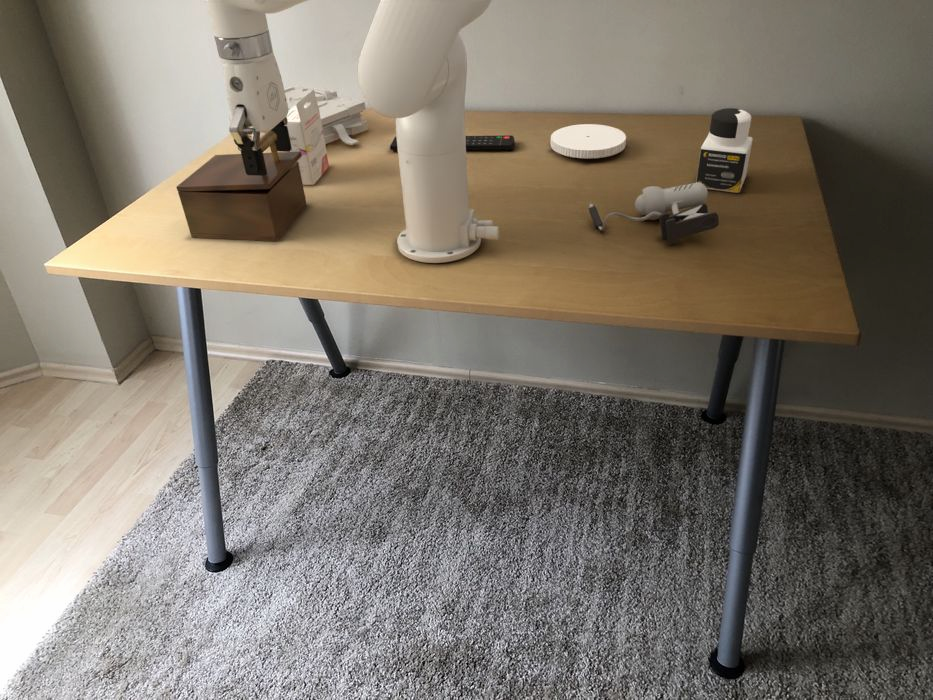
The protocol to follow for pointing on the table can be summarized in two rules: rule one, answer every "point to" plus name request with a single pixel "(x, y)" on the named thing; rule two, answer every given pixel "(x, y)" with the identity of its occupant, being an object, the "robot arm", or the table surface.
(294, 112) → the ink cartridge box
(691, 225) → the clip-on lamp
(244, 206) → the chest
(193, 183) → the lid
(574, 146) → the plastic lid
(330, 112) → the book
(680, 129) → the table surface
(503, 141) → the remote control
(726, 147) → the medicine bottle
